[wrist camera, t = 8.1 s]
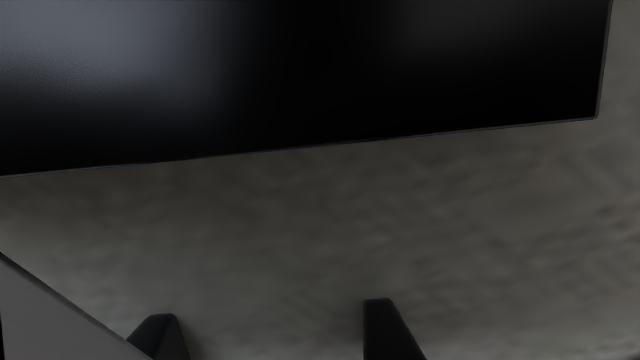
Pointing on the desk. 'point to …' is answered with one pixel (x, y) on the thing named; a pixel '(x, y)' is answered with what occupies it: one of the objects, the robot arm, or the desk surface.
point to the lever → (51, 323)
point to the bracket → (282, 74)
